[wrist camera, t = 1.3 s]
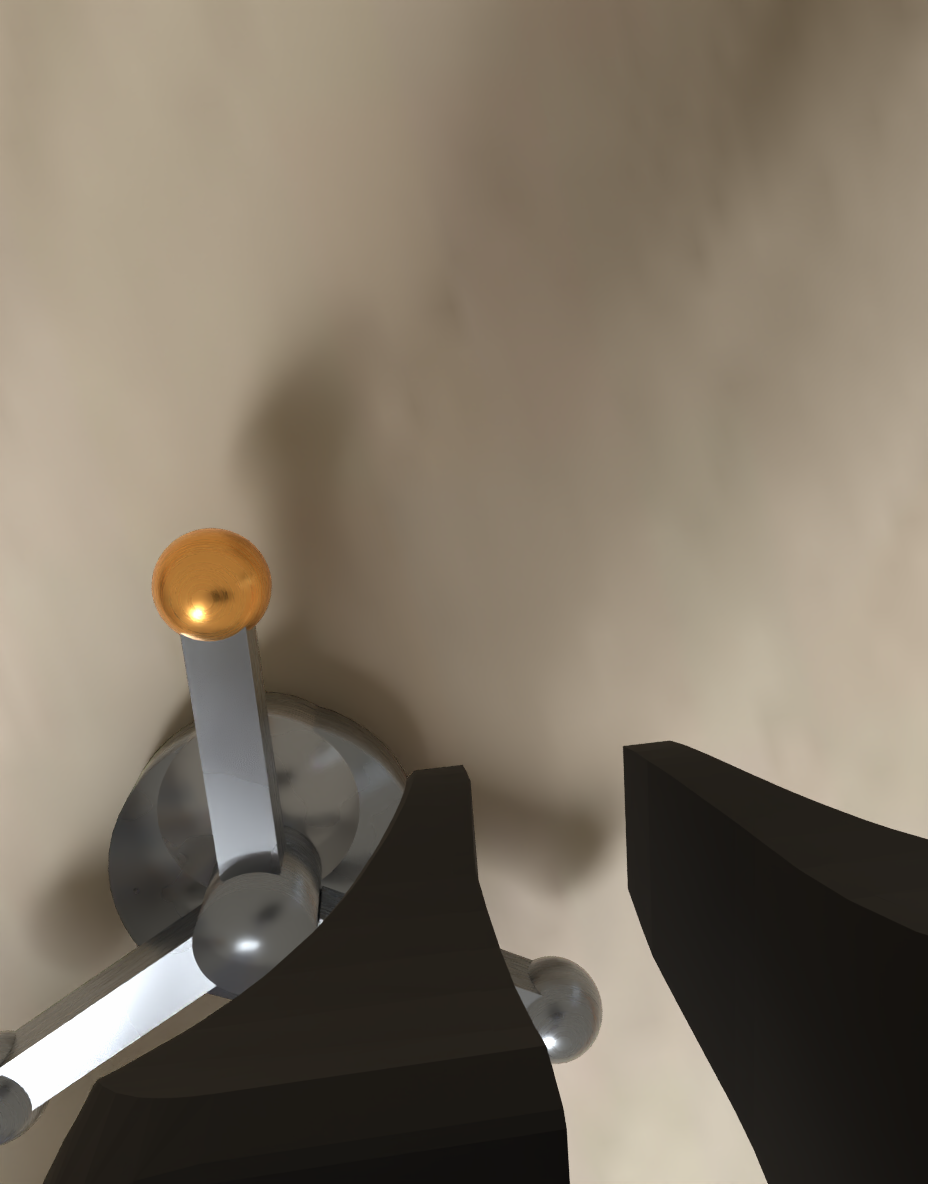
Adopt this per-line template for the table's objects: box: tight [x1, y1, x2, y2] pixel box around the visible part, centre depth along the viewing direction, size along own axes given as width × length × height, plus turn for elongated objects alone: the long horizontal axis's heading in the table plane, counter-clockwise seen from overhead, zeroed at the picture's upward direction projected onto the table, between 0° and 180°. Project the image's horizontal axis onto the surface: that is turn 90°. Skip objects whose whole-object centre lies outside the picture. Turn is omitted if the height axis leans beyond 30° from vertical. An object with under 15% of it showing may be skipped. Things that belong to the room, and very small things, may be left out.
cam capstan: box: [0, 528, 602, 1146], centre depth 19 cm, size 13×14×4 cm
